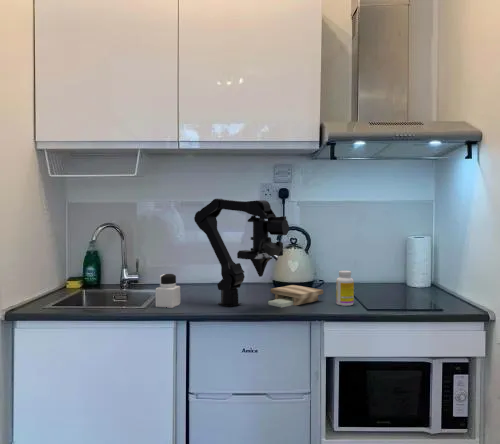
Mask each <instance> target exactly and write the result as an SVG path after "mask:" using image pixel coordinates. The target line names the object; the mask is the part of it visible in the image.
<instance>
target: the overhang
mask: <svg viewBox="0 0 500 444" xmlns="http://www.w3.org/2000/svg"><path fill="white" fill-rule="evenodd" d="M270 294H274V300H276V299H281V298H286V297H294V305H293V306H300V305H304V304H309V303H314V302H318V301H319V296H320V295H324V289H320V288H313V287H308V286H302V285H296V284H290V285H285V286H280V287H274V288H270Z"/></svg>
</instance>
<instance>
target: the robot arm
mask: <svg viewBox="0 0 500 444" xmlns="http://www.w3.org/2000/svg"><path fill="white" fill-rule="evenodd" d="M222 210H227V211H235V212H245V213H246V214H248V215H250V217H249V219H247V222H248V223H252V236H250V241H251V240H252V247H251V248H250V250H249V249H244V250H243V249H242V250H238V251H237V253H236V257H237V258H236V259H238V260H239V259H241V260H250V261H251V263H252V265H253V266H254V269H255V270H256V273H257V275H258V277H259V278H260V277H263V276H264V273H265V269H266V268H267V264H268V262H270V261H271V260H272V259H273V257H275V256H277V257H281V256H284V243H283V242H282V241H276V242H273V241H272V238H271V237H270V236H287V235H288V233H289V231H290V225H289V221H288V220H287V216H277V215H276V213H275V212H274V211H273V210H272V208H271V203H269V201H267V200H258V199H257V200H249V201H242V200H233V199H232V200H230V199H223V198H214V199H212V200H211V201H210V202H209V203H208V204H206V205H205V206H204V207H202V208H201V209H200V210H198V211H196V212H195V214H194V217H193V220H194V222H195V224H196V225H197V226H198V228H199V230H201V232H203V233H204V234H205V235H206V237H207V239H208V241H209V244H210V246H211V247H212V250H213V252H214V253H215V256H216V258H217V260H218V263H219V265H220V270H221V273H220V275H221V280H220V281H219V282H218V283H217V285H216V287H217V289H218V290H219V291H220V295H221V296H220V298H221V299H220V300H221V301H220V302H218V303H217V305H220V306H224V307H235V306H240V305H242V303H241V302H239V288H241V286H242V283H243V282H244V280H245V278H246V277H245V270H244V269H243V267H242V264H241V263H240V262H238V263H236V262H234V260H233V259H232V257H231V255H230V253H229V251H228V249H227V246H226V245H225V242H224V240H223V238H222V237H221V234H220V232H219V230H218V221H217V218H218V217H219V216H220V214H221V212H222ZM269 234H270V236H269Z"/></svg>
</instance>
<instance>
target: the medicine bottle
mask: <svg viewBox="0 0 500 444" xmlns="http://www.w3.org/2000/svg"><path fill="white" fill-rule="evenodd" d="M179 305H181V286H180V285H177V276H176V275H175V274H173V273H164V274H160V275H159V287H156V288H155V307H156V308H166V307H167V308H170V309H173V308H176V307H178V306H179Z"/></svg>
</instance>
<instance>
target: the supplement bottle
mask: <svg viewBox="0 0 500 444" xmlns="http://www.w3.org/2000/svg"><path fill="white" fill-rule="evenodd" d="M354 282H355V281H354V278H352V271H351V270H339V271H338V277H337V278H336V282H335V283H336V284H335V287H336V288H335V291H336V293H335V295H336V297H335V299H336V300H335V301H336V302H335V303H336V304H337V305H338V306H341V307H342V306H343V307H344V306H345V307H346V306H347V307H349V306H352V305H354V301H355V299H354V298H355V297H354V296H355V295H354V294H355V293H354V291H355V289H354V288H355V283H354Z"/></svg>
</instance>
